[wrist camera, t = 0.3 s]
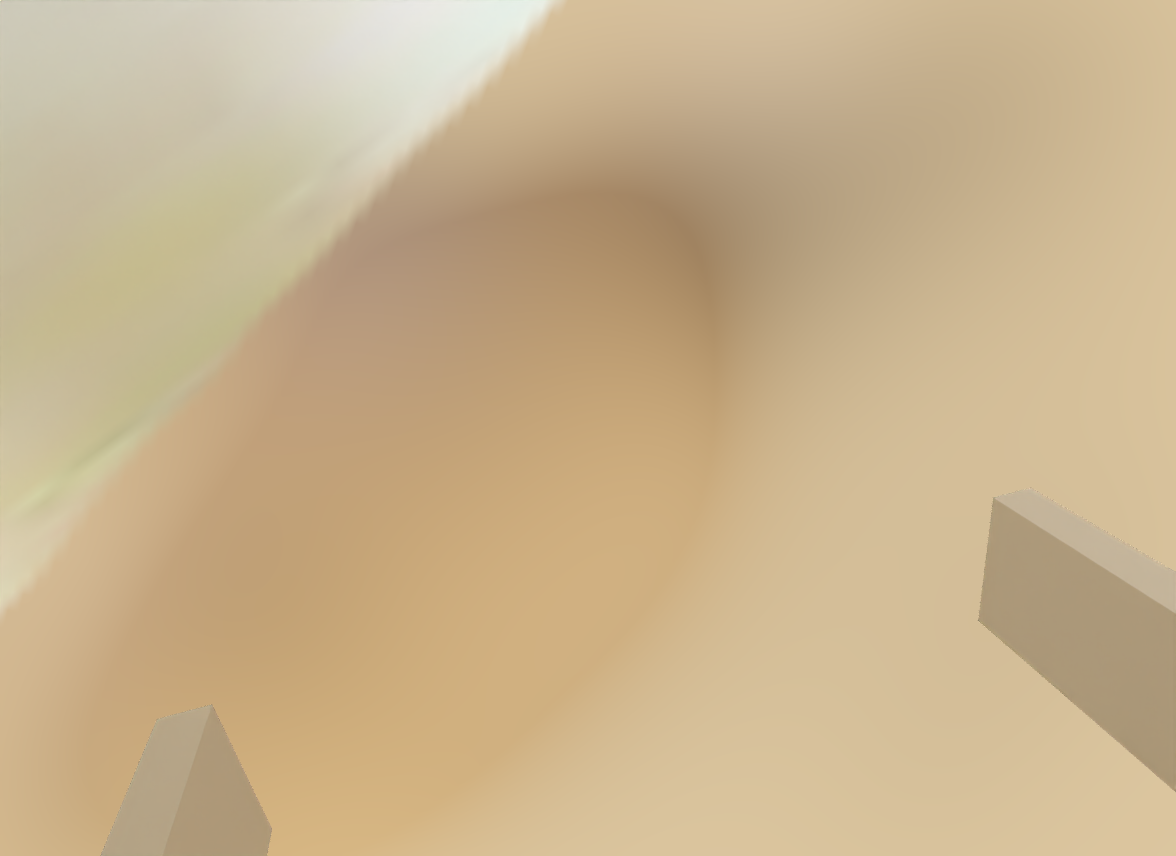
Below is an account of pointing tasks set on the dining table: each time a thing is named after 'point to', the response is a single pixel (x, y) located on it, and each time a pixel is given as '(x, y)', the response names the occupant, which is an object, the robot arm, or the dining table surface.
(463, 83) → the dining table surface
